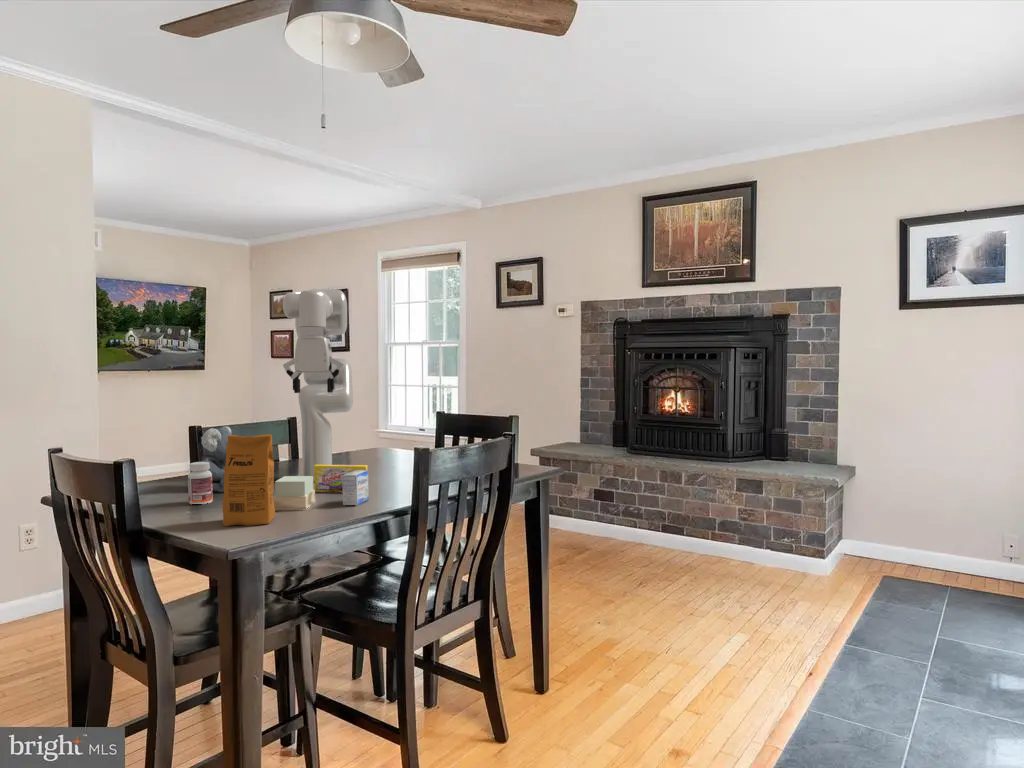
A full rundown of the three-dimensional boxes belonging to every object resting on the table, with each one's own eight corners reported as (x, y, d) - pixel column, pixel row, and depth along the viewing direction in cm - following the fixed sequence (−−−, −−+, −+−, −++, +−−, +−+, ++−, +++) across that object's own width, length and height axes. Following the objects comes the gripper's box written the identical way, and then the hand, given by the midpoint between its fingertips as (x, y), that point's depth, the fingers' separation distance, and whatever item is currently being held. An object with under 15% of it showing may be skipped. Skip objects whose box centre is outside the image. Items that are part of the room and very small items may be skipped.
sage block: (284, 490, 193) (284, 476, 193) (313, 490, 193) (313, 476, 193) (275, 496, 185) (274, 481, 185) (304, 496, 185) (304, 481, 185)
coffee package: (230, 517, 177) (228, 432, 176) (280, 516, 178) (278, 431, 177) (216, 527, 167) (214, 437, 166) (269, 526, 168) (267, 436, 167)
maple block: (283, 504, 194) (282, 490, 193) (315, 504, 194) (315, 489, 194) (272, 511, 185) (272, 496, 184) (305, 511, 185) (305, 496, 185)
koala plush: (236, 493, 207) (235, 429, 206) (177, 493, 207) (175, 429, 206) (258, 482, 225) (256, 423, 224) (203, 482, 225) (201, 423, 224)
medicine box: (357, 506, 189) (356, 475, 189) (342, 505, 190) (341, 474, 189) (368, 500, 197) (368, 470, 196) (354, 499, 198) (354, 469, 197)
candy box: (313, 492, 209) (313, 465, 208) (316, 491, 211) (315, 464, 210) (366, 492, 208) (366, 465, 207) (368, 491, 210) (368, 464, 209)
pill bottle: (217, 502, 195) (216, 462, 194) (197, 506, 190) (196, 465, 189) (204, 499, 198) (203, 460, 198) (184, 503, 193) (183, 463, 193)
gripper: (345, 334, 203) (346, 392, 203) (287, 335, 203) (288, 392, 203) (338, 332, 195) (339, 392, 195) (278, 333, 196) (279, 393, 196)
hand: (313, 392), depth 199 cm, fingers open, 9 cm apart
